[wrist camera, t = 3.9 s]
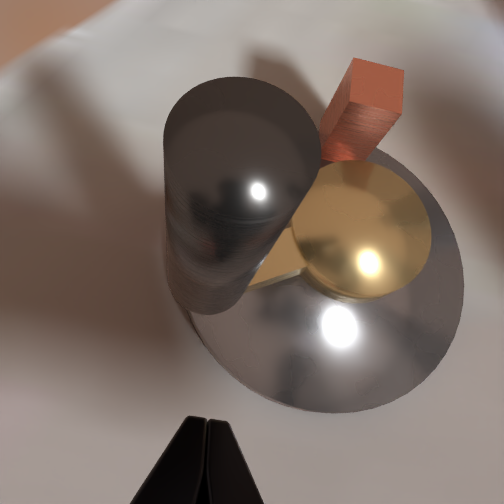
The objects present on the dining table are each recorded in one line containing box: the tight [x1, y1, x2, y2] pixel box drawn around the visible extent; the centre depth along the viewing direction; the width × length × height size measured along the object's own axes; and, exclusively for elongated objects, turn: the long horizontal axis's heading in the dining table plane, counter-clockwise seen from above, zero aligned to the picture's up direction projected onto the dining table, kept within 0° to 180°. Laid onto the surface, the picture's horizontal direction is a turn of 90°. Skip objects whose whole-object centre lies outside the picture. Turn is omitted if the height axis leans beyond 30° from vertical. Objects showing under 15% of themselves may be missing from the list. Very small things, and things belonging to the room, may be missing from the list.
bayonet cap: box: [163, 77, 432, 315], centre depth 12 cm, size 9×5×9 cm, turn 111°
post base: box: [187, 58, 464, 413], centre depth 17 cm, size 12×12×5 cm
